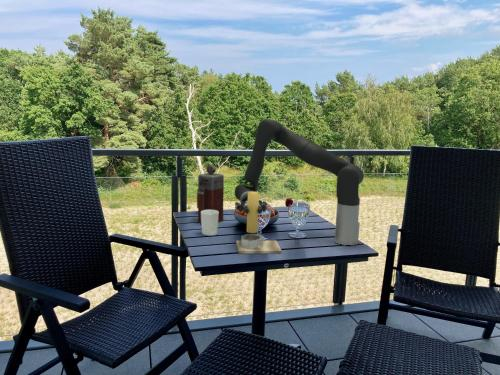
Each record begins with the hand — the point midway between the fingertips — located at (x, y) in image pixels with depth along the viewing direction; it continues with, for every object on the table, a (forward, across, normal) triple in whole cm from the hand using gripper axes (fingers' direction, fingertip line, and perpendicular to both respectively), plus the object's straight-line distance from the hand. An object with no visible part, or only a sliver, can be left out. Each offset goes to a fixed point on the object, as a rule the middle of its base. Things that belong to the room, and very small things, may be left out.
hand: (253, 211), depth 171 cm
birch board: (-3, +3, +16) cm, 16 cm away
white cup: (-23, -17, +16) cm, 33 cm away
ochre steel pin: (-3, 0, +9) cm, 9 cm away
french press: (-42, -17, +17) cm, 48 cm away
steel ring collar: (-3, 0, +15) cm, 15 cm away
